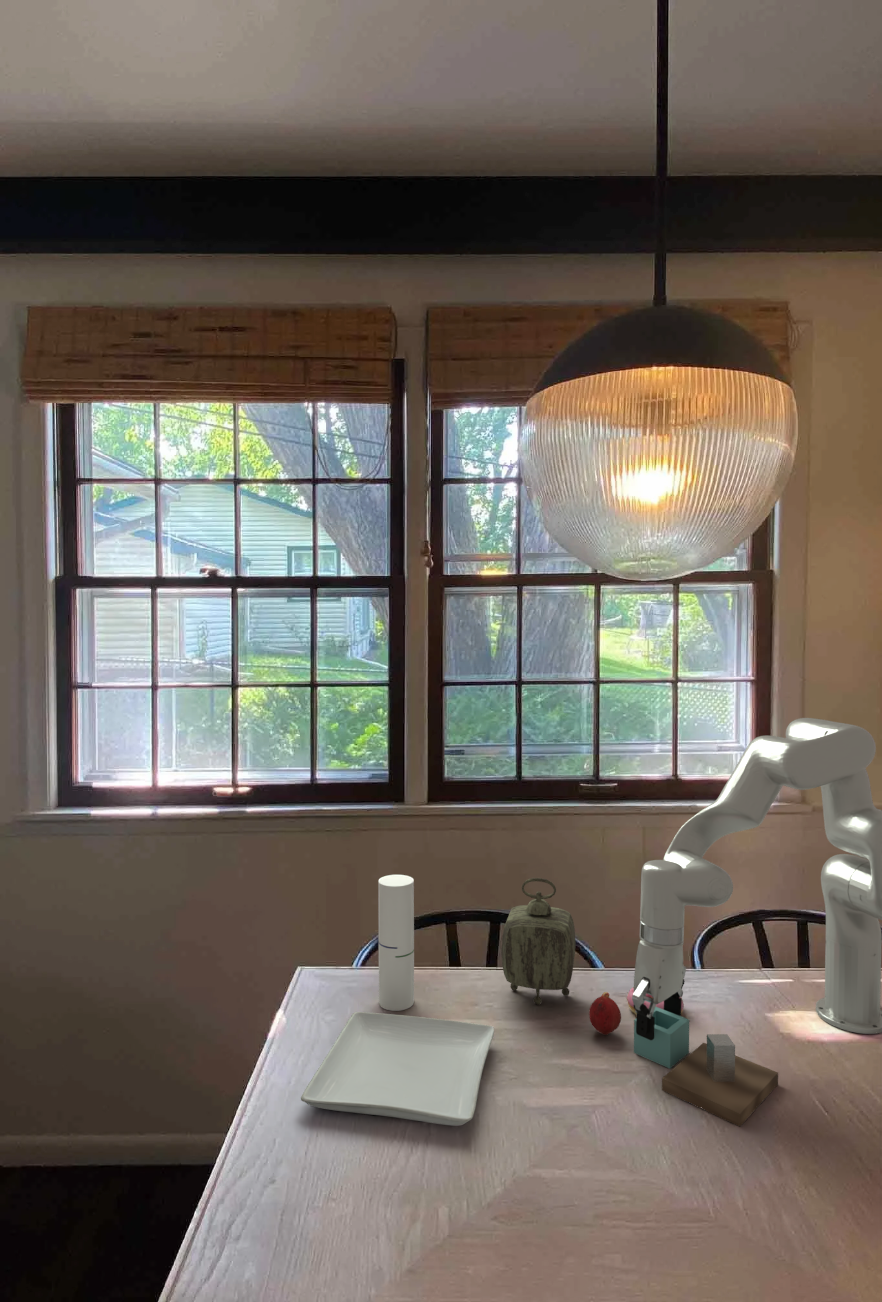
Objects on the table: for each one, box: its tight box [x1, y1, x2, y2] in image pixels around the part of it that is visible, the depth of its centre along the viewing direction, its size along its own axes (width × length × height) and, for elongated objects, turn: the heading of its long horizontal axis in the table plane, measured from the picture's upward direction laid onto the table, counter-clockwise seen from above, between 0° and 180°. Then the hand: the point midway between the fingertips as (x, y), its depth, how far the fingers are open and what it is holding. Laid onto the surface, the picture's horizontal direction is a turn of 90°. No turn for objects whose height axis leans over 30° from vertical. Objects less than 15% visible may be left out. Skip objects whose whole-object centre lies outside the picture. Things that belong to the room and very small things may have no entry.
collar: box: [633, 1007, 690, 1069], centre depth 136 cm, size 7×7×6 cm
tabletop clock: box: [500, 877, 577, 1006], centre depth 155 cm, size 14×9×25 cm, turn 77°
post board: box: [661, 1033, 779, 1127], centre depth 125 cm, size 15×13×8 cm
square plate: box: [300, 1011, 495, 1127], centre depth 129 cm, size 27×27×4 cm
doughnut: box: [626, 986, 685, 1016], centre depth 150 cm, size 11×11×4 cm
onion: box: [588, 991, 622, 1036], centre depth 141 cm, size 6×6×8 cm
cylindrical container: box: [377, 874, 415, 1012], centre depth 154 cm, size 7×7×25 cm
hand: (658, 1027), depth 135 cm, fingers open, 9 cm apart
